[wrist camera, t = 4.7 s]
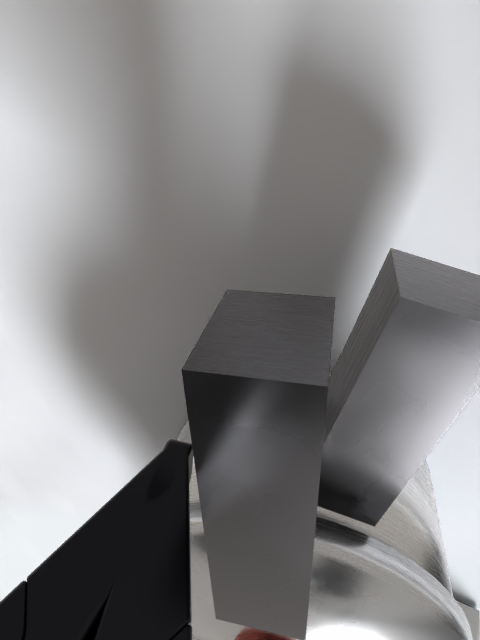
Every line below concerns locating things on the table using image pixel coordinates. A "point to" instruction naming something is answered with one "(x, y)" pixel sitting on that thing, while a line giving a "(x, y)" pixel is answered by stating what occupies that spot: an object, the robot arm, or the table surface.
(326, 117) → the table surface
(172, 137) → the table surface
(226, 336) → the lid
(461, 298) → the pot
